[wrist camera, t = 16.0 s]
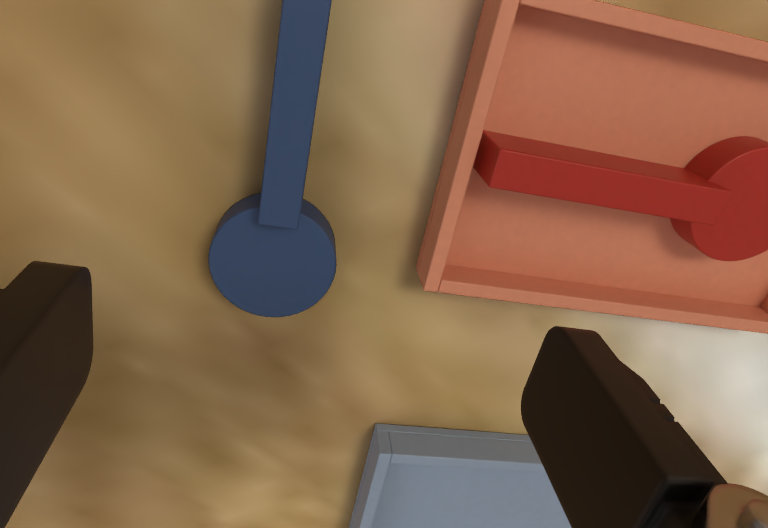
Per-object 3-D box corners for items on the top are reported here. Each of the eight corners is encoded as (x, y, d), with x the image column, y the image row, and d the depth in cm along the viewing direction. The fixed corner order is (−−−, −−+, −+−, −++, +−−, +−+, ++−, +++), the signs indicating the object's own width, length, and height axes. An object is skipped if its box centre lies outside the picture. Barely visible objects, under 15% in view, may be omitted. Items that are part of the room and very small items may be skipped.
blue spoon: (325, 303, 24) (326, 338, 22) (211, 290, 23) (199, 325, 21) (388, -43, 18) (399, -45, 16) (238, -78, 17) (227, -86, 15)
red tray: (415, 267, 24) (423, 291, 22) (489, -22, 19) (507, -21, 17) (757, 312, 27) (788, 336, 25) (896, 76, 22) (946, 84, 20)
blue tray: (338, 567, 32) (339, 601, 31) (375, 422, 28) (379, 453, 26) (603, 574, 36) (618, 605, 34) (678, 446, 31) (700, 475, 29)
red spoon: (802, 147, 22) (858, 166, 20) (745, 252, 25) (789, 280, 22) (493, 82, 20) (516, 96, 18) (458, 205, 22) (474, 233, 20)
